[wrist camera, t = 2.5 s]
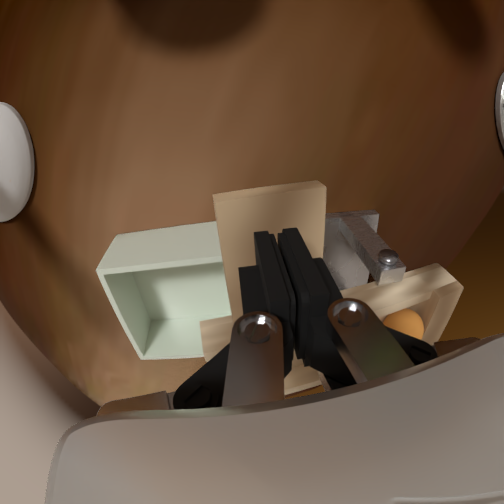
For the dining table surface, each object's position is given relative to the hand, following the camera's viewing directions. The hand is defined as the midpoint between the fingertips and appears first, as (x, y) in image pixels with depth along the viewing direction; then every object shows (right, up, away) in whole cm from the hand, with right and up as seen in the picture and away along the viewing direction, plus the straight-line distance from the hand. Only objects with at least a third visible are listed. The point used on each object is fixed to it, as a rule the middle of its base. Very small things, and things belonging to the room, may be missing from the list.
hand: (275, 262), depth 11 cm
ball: (+10, -6, +7) cm, 14 cm away
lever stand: (+8, 0, +16) cm, 18 cm away
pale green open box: (-6, -2, +16) cm, 17 cm away
